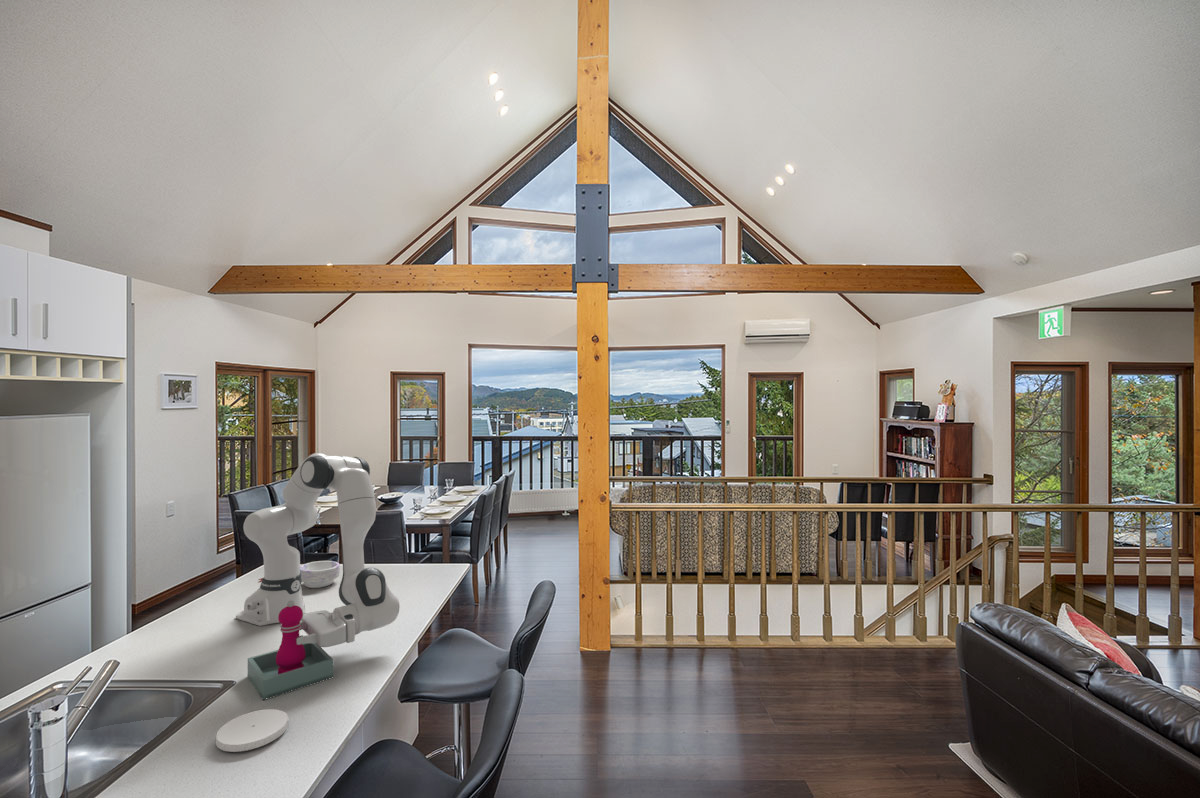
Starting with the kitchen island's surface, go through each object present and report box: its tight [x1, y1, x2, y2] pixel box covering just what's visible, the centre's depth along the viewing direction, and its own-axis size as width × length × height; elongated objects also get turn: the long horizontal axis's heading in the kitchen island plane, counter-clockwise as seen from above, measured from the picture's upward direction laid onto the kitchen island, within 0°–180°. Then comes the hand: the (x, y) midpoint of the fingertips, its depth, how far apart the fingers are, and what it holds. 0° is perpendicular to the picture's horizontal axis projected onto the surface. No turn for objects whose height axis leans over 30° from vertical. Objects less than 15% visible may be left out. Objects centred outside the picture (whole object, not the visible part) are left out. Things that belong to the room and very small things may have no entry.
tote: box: [247, 642, 334, 700], centre depth 156 cm, size 17×17×5 cm
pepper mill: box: [276, 601, 306, 674], centre depth 156 cm, size 7×7×20 cm
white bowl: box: [300, 560, 341, 589], centre depth 233 cm, size 15×15×8 cm
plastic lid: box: [215, 708, 289, 753], centre depth 129 cm, size 14×14×2 cm
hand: (291, 635), depth 156 cm, fingers open, 8 cm apart
